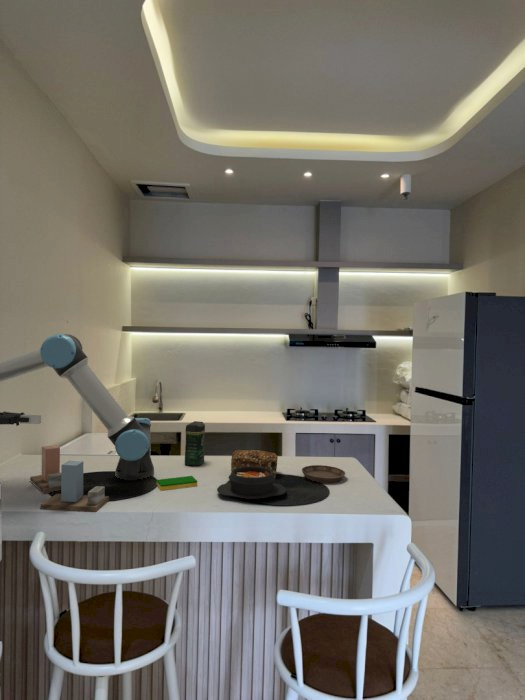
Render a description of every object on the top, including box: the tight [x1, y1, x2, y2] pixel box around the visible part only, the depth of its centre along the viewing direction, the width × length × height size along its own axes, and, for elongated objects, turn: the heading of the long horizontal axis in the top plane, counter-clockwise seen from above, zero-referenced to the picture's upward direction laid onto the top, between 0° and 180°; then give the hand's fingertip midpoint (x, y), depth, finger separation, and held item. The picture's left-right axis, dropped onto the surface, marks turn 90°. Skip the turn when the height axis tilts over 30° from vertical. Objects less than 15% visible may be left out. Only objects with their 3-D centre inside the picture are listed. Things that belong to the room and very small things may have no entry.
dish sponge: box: [156, 475, 198, 491], centre depth 173 cm, size 7×14×2 cm, turn 116°
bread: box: [230, 449, 278, 478], centre depth 189 cm, size 19×11×10 cm, turn 85°
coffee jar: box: [184, 420, 206, 466], centre depth 203 cm, size 10×8×19 cm
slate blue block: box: [60, 460, 84, 502], centre depth 151 cm, size 5×5×12 cm
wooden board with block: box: [39, 485, 110, 513], centre depth 151 cm, size 18×10×6 cm, turn 86°
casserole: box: [216, 466, 287, 500], centre depth 165 cm, size 25×19×8 cm
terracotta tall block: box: [41, 444, 61, 482], centre depth 172 cm, size 5×5×12 cm
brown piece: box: [29, 472, 61, 495], centre depth 171 cm, size 18×10×6 cm, turn 41°
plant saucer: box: [301, 464, 346, 484], centre depth 187 cm, size 18×18×3 cm
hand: (39, 419), depth 156 cm, fingers closed
